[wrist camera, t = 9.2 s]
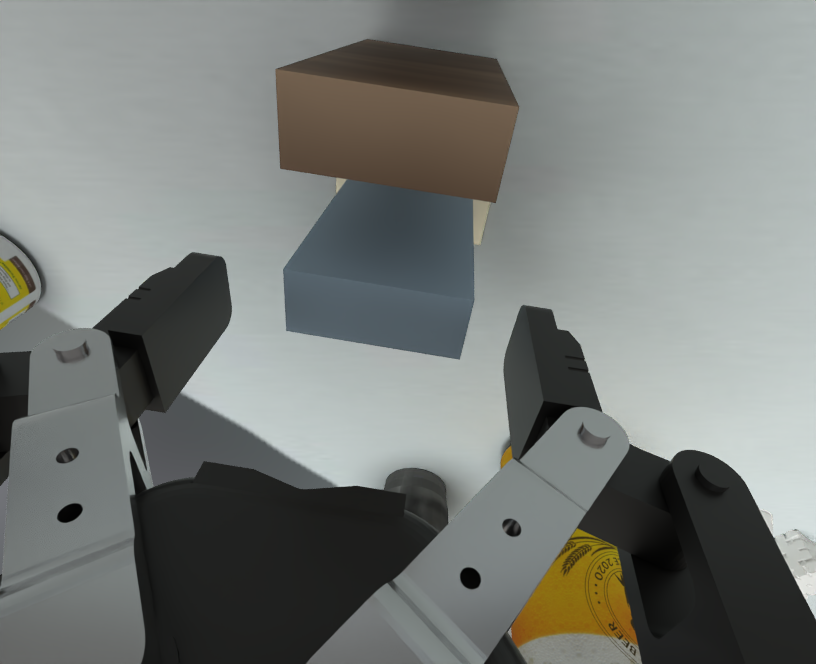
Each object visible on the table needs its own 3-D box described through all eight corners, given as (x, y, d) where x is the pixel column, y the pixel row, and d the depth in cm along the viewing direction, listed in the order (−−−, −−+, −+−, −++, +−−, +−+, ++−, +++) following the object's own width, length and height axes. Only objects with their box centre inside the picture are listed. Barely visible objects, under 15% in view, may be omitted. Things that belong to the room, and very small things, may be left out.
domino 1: (367, 39, 17) (275, 69, 9) (496, 59, 17) (519, 106, 9) (363, 96, 18) (280, 168, 10) (484, 115, 18) (495, 202, 10)
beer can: (613, 461, 29) (713, 778, 17) (534, 493, 32) (573, 784, 20) (560, 408, 27) (633, 730, 15) (481, 448, 30) (488, 744, 18)
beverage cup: (479, 471, 32) (488, 957, 15) (446, 524, 36) (427, 947, 20) (379, 444, 31) (281, 917, 15) (358, 501, 35) (265, 916, 19)
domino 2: (359, 161, 20) (283, 269, 12) (472, 179, 20) (474, 300, 12) (357, 205, 21) (286, 330, 13) (463, 222, 21) (459, 359, 13)
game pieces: (817, 540, 32) (848, 586, 30) (771, 556, 34) (796, 601, 32) (716, 468, 29) (741, 514, 26) (670, 490, 31) (689, 535, 28)
